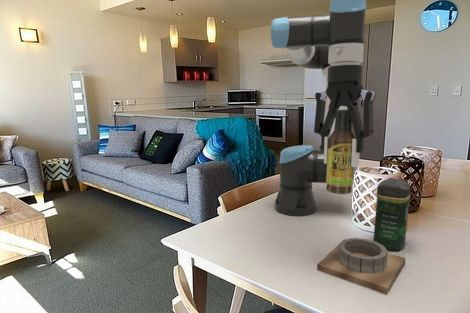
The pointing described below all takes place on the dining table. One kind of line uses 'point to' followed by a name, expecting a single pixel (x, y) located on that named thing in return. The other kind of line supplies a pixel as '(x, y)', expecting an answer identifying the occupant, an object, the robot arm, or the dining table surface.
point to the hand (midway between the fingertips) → (340, 164)
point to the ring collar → (363, 264)
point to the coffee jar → (392, 213)
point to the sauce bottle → (340, 155)
